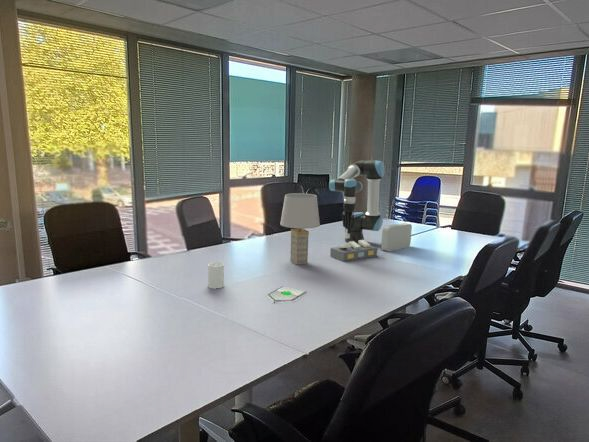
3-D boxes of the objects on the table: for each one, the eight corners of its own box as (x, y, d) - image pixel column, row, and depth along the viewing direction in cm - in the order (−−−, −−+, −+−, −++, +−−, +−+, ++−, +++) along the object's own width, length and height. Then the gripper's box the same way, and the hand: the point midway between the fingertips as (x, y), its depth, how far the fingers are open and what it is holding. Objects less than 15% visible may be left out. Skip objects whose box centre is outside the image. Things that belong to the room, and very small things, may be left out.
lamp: (290, 270, 249) (292, 198, 241) (273, 259, 271) (274, 193, 263) (325, 265, 260) (328, 197, 252) (306, 255, 282) (308, 192, 274)
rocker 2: (348, 243, 284) (348, 241, 284) (352, 243, 287) (353, 240, 286) (355, 249, 279) (355, 246, 278) (360, 248, 281) (360, 246, 280)
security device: (256, 301, 200) (256, 297, 200) (280, 288, 219) (280, 284, 219) (286, 309, 192) (286, 305, 191) (308, 294, 211) (308, 291, 211)
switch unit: (330, 256, 282) (330, 246, 281) (363, 251, 298) (363, 242, 297) (343, 261, 270) (344, 251, 269) (377, 256, 286) (377, 246, 285)
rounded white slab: (402, 244, 321) (403, 222, 318) (410, 246, 315) (412, 223, 312) (378, 249, 303) (379, 225, 300) (386, 252, 298) (388, 227, 294)
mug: (218, 280, 226) (218, 259, 224) (231, 283, 223) (231, 262, 220) (204, 287, 216) (204, 265, 214) (217, 290, 212) (217, 267, 210)
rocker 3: (358, 242, 289) (358, 240, 289) (362, 241, 292) (363, 239, 291) (365, 247, 283) (365, 245, 283) (370, 246, 286) (370, 244, 285)
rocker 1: (338, 248, 280) (337, 245, 280) (343, 247, 282) (342, 244, 282) (345, 247, 273) (345, 245, 273) (350, 247, 275) (350, 244, 275)
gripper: (338, 201, 273) (336, 236, 277) (351, 204, 262) (349, 240, 266) (347, 201, 277) (345, 235, 281) (360, 203, 266) (358, 239, 270)
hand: (347, 238), depth 274 cm, fingers closed
